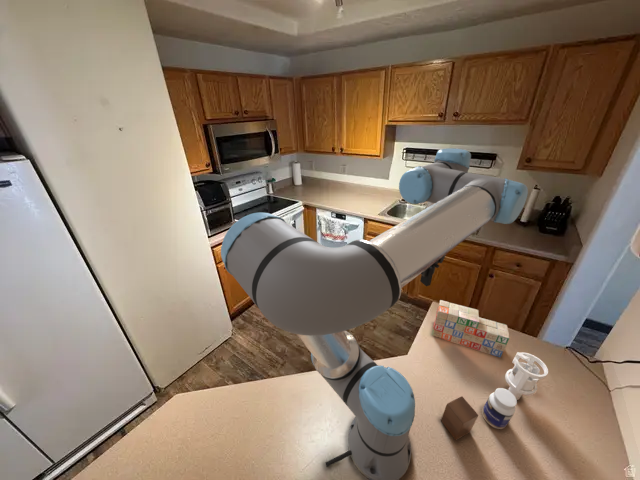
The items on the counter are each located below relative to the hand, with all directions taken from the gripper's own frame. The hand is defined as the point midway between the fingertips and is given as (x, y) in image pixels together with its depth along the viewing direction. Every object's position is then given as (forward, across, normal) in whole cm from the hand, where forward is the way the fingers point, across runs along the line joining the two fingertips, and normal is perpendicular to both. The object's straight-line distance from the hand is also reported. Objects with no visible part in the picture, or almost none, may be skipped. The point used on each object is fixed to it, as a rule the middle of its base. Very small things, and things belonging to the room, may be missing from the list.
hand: (425, 283), depth 79 cm
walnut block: (+26, +7, +26) cm, 38 cm away
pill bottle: (+27, -4, +28) cm, 39 cm away
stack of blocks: (+27, -18, +6) cm, 33 cm away
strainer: (+27, -15, +26) cm, 40 cm away
